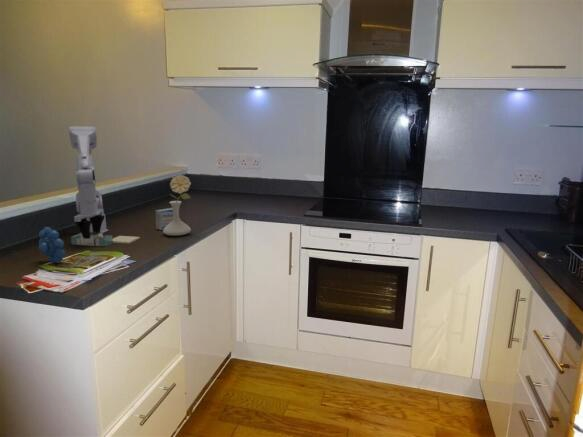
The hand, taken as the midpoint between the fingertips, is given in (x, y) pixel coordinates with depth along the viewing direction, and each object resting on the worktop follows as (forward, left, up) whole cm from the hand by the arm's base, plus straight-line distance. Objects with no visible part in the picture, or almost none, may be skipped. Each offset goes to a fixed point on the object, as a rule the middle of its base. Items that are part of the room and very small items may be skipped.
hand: (91, 236), depth 163 cm
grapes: (+24, +2, -3) cm, 24 cm away
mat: (-7, +9, -3) cm, 12 cm away
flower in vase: (-20, +26, -3) cm, 33 cm away
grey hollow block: (0, 0, -3) cm, 3 cm away
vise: (0, 0, -3) cm, 3 cm away
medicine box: (-29, +16, -3) cm, 33 cm away
